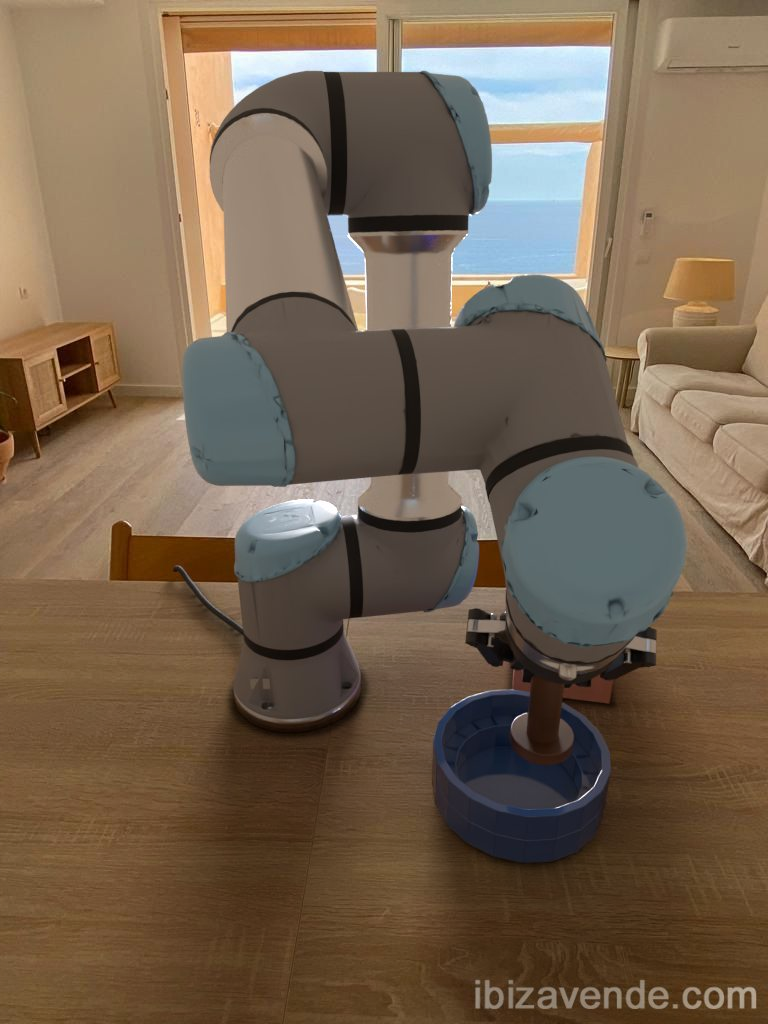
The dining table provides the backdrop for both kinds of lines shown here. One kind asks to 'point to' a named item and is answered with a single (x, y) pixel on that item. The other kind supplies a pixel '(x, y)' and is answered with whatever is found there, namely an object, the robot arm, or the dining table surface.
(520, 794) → the bowl
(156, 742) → the dining table surface
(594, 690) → the house
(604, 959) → the dining table surface
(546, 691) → the muddler
